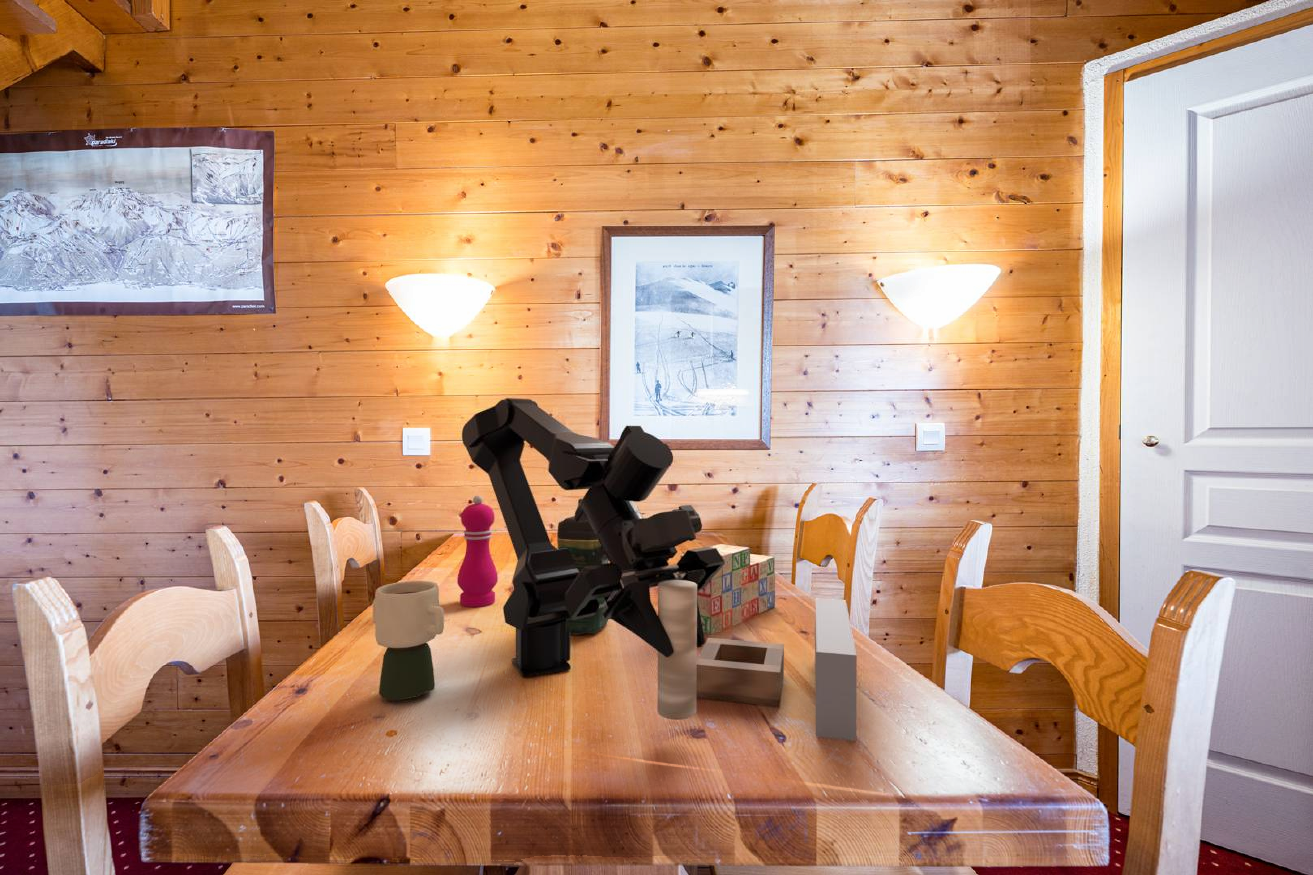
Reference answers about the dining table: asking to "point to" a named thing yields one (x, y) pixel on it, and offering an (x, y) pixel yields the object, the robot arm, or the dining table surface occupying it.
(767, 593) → the stack of blocks
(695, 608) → the dowel
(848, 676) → the board
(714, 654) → the socket block
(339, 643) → the dining table surface
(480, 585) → the pepper mill
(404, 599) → the character mug
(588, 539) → the coffee jar
